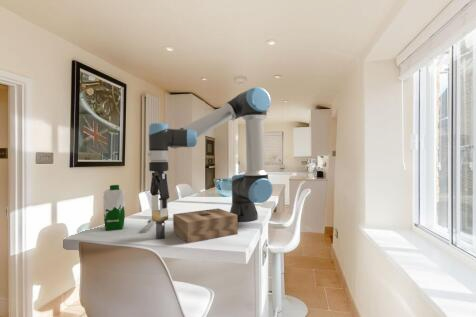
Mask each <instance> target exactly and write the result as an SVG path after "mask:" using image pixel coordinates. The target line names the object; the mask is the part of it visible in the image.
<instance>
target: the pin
mask: <svg viewBox="0 0 476 317" xmlns="http://www.w3.org/2000/svg"><path fill="white" fill-rule="evenodd" d="M167 211H168V212H169V209H167ZM151 218H152V221H155V222H156V224H155V237H156V240H163V239H165V237H166V234H165V233H166V232H165V231H166V230H165V229H166V228H165V224H166V223H165V222H166V221H168V220H169V215H168V216H165V217H160V209H158V210H154V211H152V210H151Z"/></svg>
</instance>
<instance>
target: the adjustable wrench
mask: <svg viewBox="0 0 476 317" xmlns="http://www.w3.org/2000/svg"><path fill="white" fill-rule="evenodd" d="M154 226H156V222H155V221H152V217H151V218H149V219H148V223H147V224H146V225H145V226H144V227H142V228H141V229H140V231H139V232H140V234H146V233H147V232H149V231H150V229H152V228H153V227H154Z"/></svg>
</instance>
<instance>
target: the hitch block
mask: <svg viewBox="0 0 476 317" xmlns="http://www.w3.org/2000/svg"><path fill="white" fill-rule="evenodd" d="M172 218H173V220H172V221H173V223H172V224H173V234H175V235H176V236H178V237H179V238H180V239H182V240H183V241H184V242H186V243H187V244H190V243H191V244H192V243H197V242H203V241H207V240H212V239H217V238H223V237H230V236H235V235H238V234H239V233H238V232H239V230H238V228H239V227H238V226H239V224H238V222H239V221H238V220H237V215H236V214H233V213H230V211H228V210H223V209H221V208H211V209H203V210H194V211H188V212H187V211H186V212H181V213H174V214H172Z"/></svg>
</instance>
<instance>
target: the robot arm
mask: <svg viewBox="0 0 476 317" xmlns="http://www.w3.org/2000/svg"><path fill="white" fill-rule="evenodd" d="M271 101H272V100H271V96H270V94H269V92H268V91H267V90H266V89H265V88H263V87H261V86H255V87H250V88H249V89H247V90H245V91H243V92H241V93H239V94H238V95H236V96H235V97H233V98H232V99H230V100H229V101H227V102H225V103H224V104H223V106H222V107H219V108H217V109H215V110H213V111H212V112H210V113H208V114H206V115H204V116H201V117H200V118H198V119H196V120H193V121H191V122H190V123H187V124H186V125H184V126H182V127H180V128H177V129H175V128H169V125H168V123H163V122H153V123H150V124H149V127H148V128H149V129H148V150H149V151H148V153H147V156H148V157H149V159H148V160H149V161H150V162H148V168H149V172H151V182H150V188H149V189H150V190H149V193H150V195H151V212H152V211H154V210H160V217H165V216H168V217H169V210H168V200H169V199H170V193H169V187H168V178H167V176H168V175H167V173H164V172H168V171H169V162H168V161H169V148H171V149H177V148H178V149H179V148H195V147H196V145H197V142H198V138H199V137H201V136H203V135H204V134H207V133H208V132H210V131H212V130H214V129H216V128H218V127H219V126H221V125H223V124H225V123H228V122H229V121H235V120H237V119H240V118H242V119H244V121H245V151H246V152H245V153H246V154H245V155H246V156H245V157H246V171H245V172H244V173H241V174H235V175H233V176H232V177H231V182H230V184H231V206H230V210H229V212H230V213H233V214H236V215H237V220H238V222H240V223H241V222H252V221H256V220H258V219H259V214H258V211H257V207H256V203H258V204H263V203H265V202H267V201H268V200H270V198H271V196H272V194H273V189H274V187H273V184H272V182H271V181H270V180H269V174H268V172H267V171H266V170H265V169H266V168H265V130H264V127H265V126H264V123H265V122H264V120H266V118H267V116H268V115H267V110H268V109H269V107H270V106H271ZM167 210H168V211H167Z"/></svg>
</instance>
